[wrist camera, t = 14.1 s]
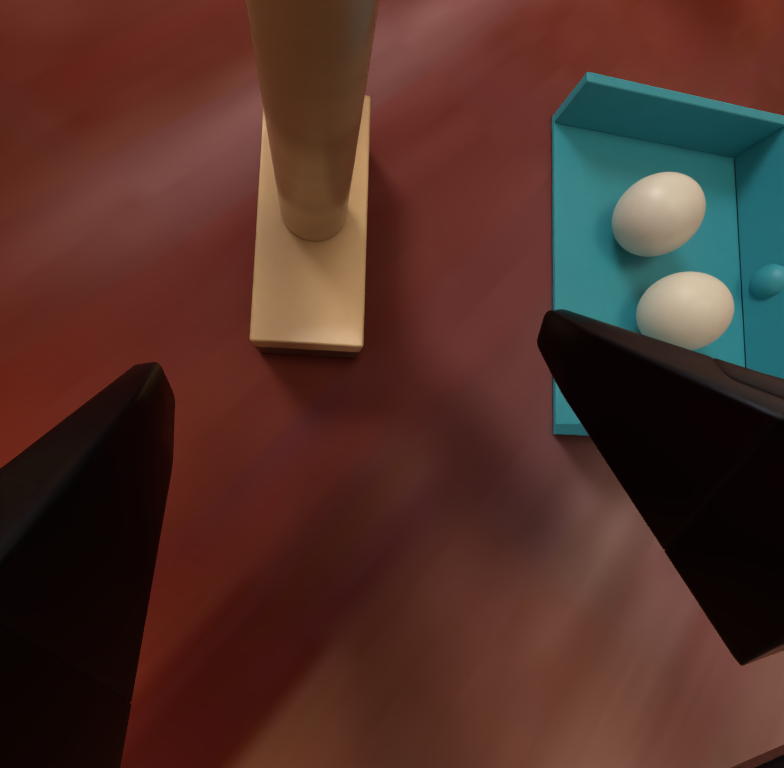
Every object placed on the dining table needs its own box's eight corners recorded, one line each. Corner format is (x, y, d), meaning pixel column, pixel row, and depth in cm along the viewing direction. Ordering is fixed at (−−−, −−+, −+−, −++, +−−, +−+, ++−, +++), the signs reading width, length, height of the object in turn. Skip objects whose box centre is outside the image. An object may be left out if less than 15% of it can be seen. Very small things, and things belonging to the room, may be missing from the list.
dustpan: (553, 434, 18) (592, 436, 16) (551, 116, 20) (587, 70, 17) (855, 444, 22) (930, 447, 19) (834, 172, 24) (899, 141, 21)
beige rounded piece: (617, 336, 21) (693, 339, 20) (645, 360, 18) (736, 365, 17) (634, 265, 19) (717, 266, 19) (668, 277, 16) (769, 280, 15)
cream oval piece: (630, 254, 21) (715, 236, 19) (607, 272, 19) (701, 254, 16) (619, 184, 20) (709, 154, 18) (594, 194, 18) (692, 162, 15)
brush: (363, 141, 18) (491, -599, 5) (356, 358, 17) (493, 148, 4) (272, 127, 17) (139, -789, 4) (259, 352, 16) (32, 73, 3)
